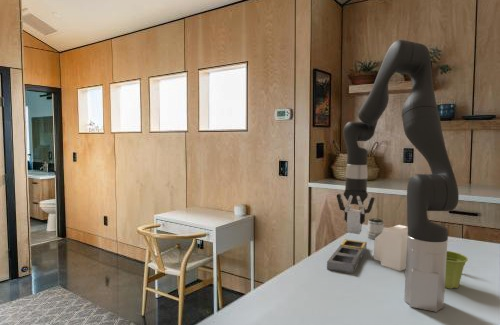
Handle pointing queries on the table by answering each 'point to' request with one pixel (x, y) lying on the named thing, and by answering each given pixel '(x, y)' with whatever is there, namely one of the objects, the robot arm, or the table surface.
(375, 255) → the white angular block
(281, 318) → the table surface
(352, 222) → the pale grey square box
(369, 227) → the camera lens
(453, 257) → the plant pot
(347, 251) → the rail
